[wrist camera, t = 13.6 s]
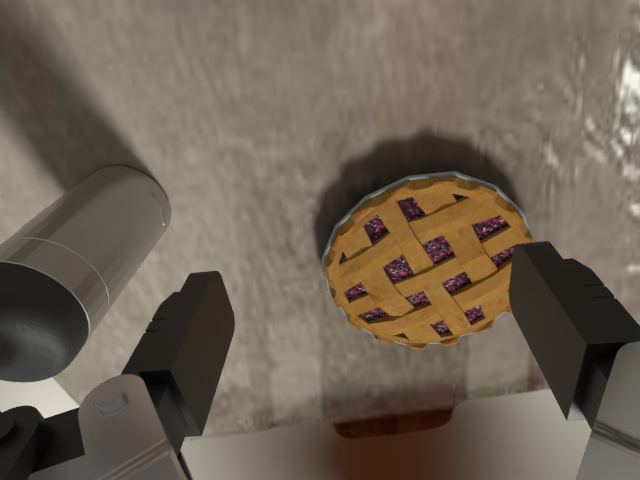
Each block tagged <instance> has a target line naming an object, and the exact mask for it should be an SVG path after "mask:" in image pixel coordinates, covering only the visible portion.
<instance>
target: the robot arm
mask: <svg viewBox="0 0 640 480" xmlns="http://www.w3.org/2000/svg"><path fill="white" fill-rule="evenodd" d="M170 218H171V209H170V205H169V201H168V199H167V197H166V195H165V193H164V192H163V190H162V189H161V188H160V186H159V185H158V184H157V183H156V182H155V181H154V180H153V179H151V178H150V177H148V176H147V175H146V174H144V173H142V172H140V171H138V170H136V169H133V168H129V167H126V166H107V167H104V168H101V169H99V170H97V171H96V172H95V173H93V174H92V175H91V176H89V177H88V178H87V179H85V180H84V181H83V182H81V183H80V184H77V185H76V186H75V187H73V188H72V189H71V190H69V191H68V192H67V193H66V194H64V195H63V196H62V197H60V198H59V199H58V200H56V201H55V202H54V203H53V204H51V205H50V206H49V207H47V208H46V209H45V210H43V211H42V212H41V213H40V214H38V215H37V216H36V217H34V218H33V219H32V220H30V221H29V222H28V223H27V224H25V225H24V226H23V227H22V228H21V229H20V230H19V231H18V232H16V233H15V234H14V235H12V236H11V237H10V238H9V239H7V240H6V241H5V242H3V243H2V244H1V245H0V380H5V381H12V382H34V381H41V380H45V379H48V378H50V377H53V376H55V375H57V374H59V373H60V372H61V371H63V370H64V369H65V368H66V367H68V365H69V364H70V363H71V362H72V361H73V360H74V358H75V357H76V356H77V354H78V353H79V351H80V350H81V349H82V347H83V346H84V344H85V343H86V341H87V340H88V338H89V337H90V336H91V334H92V333H93V331H94V330H95V329H96V327H97V326H98V324H99V323H100V321H101V320H102V319H103V317H104V316H105V314H106V313H107V311H108V310H109V309H110V307H111V306H112V304H113V303H114V302H115V300H116V299H117V297H118V296H119V295H120V293H121V292H122V290H123V289H124V288H125V286H126V285H127V283H128V282H129V281H130V279H131V278H132V277H133V275H134V274H135V272H136V271H137V270H138V268H139V267H140V265H141V264H142V263H143V261H144V260H145V258H146V257H147V256H148V254H149V253H150V251H151V250H152V249H153V247H154V246H155V244H156V243H157V242H158V240H159V239H160V237H161V236H162V235H163V233H164V232H165V230H166V229H167V227H168V225H169V222H170ZM509 302H510V307H511V310H512V313H513V315H514V317H515V319H516V321H517V323H518V325H519V327H520V329H521V331H522V333H523V335H524V337H525V339H526V341H527V343H528V345H529V347H530V349H531V351H532V353H533V355H534V357H535V359H536V361H537V363H538V365H539V367H540V369H541V371H542V373H543V375H544V377H545V379H546V381H547V383H548V384H549V386H550V388H551V390H552V392H553V394H554V396H555V398H556V400H557V402H558V404H559V406H560V408H561V410H562V412H563V414H564V416H565V418H566V420H567V421H582V420H587V422H588V424H589V426H590V428H591V429H592V431H591V435H590V437H589V441H588V444H587V447H586V450H585V453H584V456H583V459H582V462H581V465H580V468H579V472H578V475H577V478H576V480H640V326H639V324H638V323H637V322H636V321H635V320H634V319H633V317H632V316H631V315H630V314H629V313H628V312H627V310H626V309H625V308H624V307H623V306H622V305H621V303H620V302H619V301H618V300H617V299H614V295H613V294H612V293H611V292H610V291H609V289H608V288H607V287H604V284H603V282H602V281H601V280H600V279H599V278H598V277H597V275H596V274H595V273H594V272H593V271H592V270H591V269H590V268H588V267H586V266H584V265H583V264H581V263H579V262H578V261H576V260H574V259H573V258H572V259H563V258H562V257H561V256H560V255H559V253H558V252H557V251H556V249H555V248H554V247H553V246H552V244H551V243H550V242H548V241H544V242H533V243H522V244H516V245H515V247H514V250H513V257H512V266H511V275H510V284H509ZM234 327H235V321H234V313H233V310H232V307H231V304H230V301H229V298H228V295H227V292H226V289H225V286H224V283H223V280H222V277H221V275H220V273H219V272H218V271H210V272H199V273H191V274H190V275H189V276H188V278H187V280H186V281H185V283H184V285H183V287H182V289H181V291H180V292H174V293H173V294H171V295H170V296H169V297H168V298H167V299H166V300H165V301H164V302H163V303H162V304H161V305H160V306H159V308H158V309H157V311H156V313H155V315H154V317H153V318H152V322H150V324H149V325H148V327H147V329H146V333H144V334H143V336H142V338H141V340H140V341H139V343H138V345H137V347H136V348H135V350H134V352H133V354H132V355H131V357H130V359H129V361H128V363H127V364H126V366H125V368H124V370H123V371H122V373H121V375H119V376H116V377H113V378H110V379H108V380H106V381H104V382H103V383H101V384H100V385H98V386H97V387H96V388H94V389H93V390H92V391H91V392H90V393H89V394H88V395H87V396H86V398H85V399H84V400H83V402H82V404H81V406H80V407H79V408H76V409H73V410H70V411H67V412H64V413H61V414H58V415H55V416H52V417H49V418H45V419H44V418H43V416H42V415H41V414H40V412H39V411H38V410H37V409H36V408H35V407H32V406H19V407H16V408H12V409H9V410H7V411H5V412H3V413H2V412H0V480H194V479H193V477H192V475H191V472H190V470H189V467H188V465H187V463H186V460H185V458H184V456H183V454H182V452H181V450H180V449H181V446H182V444H183V441H184V438H185V437H190V436H202V433H203V430H204V427H205V424H206V421H207V417H208V414H209V411H210V408H211V404H212V401H213V398H214V395H215V392H216V388H217V385H218V382H219V379H220V376H221V372H222V369H223V366H224V363H225V360H226V356H227V353H228V350H229V347H230V343H231V340H232V337H233V334H234Z"/></svg>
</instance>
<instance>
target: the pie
mask: <svg viewBox="0 0 640 480" xmlns="http://www.w3.org/2000/svg"><path fill="white" fill-rule="evenodd" d="M533 242H535V241H534V238H533V235H532V232H531V230H530V227H529V224H528V221H527V218H526V216H525V213H524V212H523V211H522V210H521V209H520V208H519V207H518V206H517V205H516V204H515V203H514V202H513V201H512V200H511V199H510V198H509V197H508V196H506V195H505V194H504V193H503V192H502V191H501V190H500V189H499V188H498V187H497V186H496V185H494V184H491V183H488V182H485V181H482V180H479V179H476V178H473V177H471V176H468V175H465V174H462V173H459V172H456V171H450V172H440V173H430V174H421V175H411V176H406V177H404V178H402V179H400V180H398V181H396V182H394V183H392V184H390V185H388V186H385V187H383V188H381V189H379V190H377V191H375V192H373V193H371V194H369V195H366V196H365V197H364V198H363V199H362V200H361V201H360V202H359V203H358V204H357V205H356V206H355V207H354V208H352V209H351V210H350V211H349V212H348V213H347V214H346V215H345V216H344V217H343V218H342V219H341V220H340V221H339V222H338V223H337V224H336V225H335V227H334V229H333V232H332V234H331V236H330V239H329V241H328V244H327V246H326V249H325V251H324V253H323V256H322V264H323V271H324V277H325V283H326V290H327V291H328V293H329V294H330V295H331V297H332V298H333V300H334V302H335V304H336V306H337V307H339V308H340V310H341V311H342V313H343V314H344V316H345V317H346V318H348V320H349V322H350V323H351V324H352V325H354V326H355V327H356V328H358V329H359V330H360V329H361V328H362V329H364V330H365V331H367V332H368V333H369V334H371V335H372V336H374V337H375V338H376V339H377V340H379V341H381V342H383V343H386V344H388V345H389V344H390V343H392V342H396V343H399V344H403V345H407V346H408V347H409V348H412V349H419V350H424V348H425V347H426V346H427V344H438V343H441V344H443V345H444V346H446V347H447V346H450V345H454V344H457V343H458V341H459V339H460V337H462V336H465V335H467V334H470V333H473V332H476V333H481V332H484V331H486V330H488V329H490V328H492V326H493V323H494V320H495V319H497V318H498V317H500V316H501V315H503V314H504V313H506V312H512V310H511V307H510V302H509V284H510V275H511V266H512V257H513V250H514V247H515V245H516V244H522V243H533Z"/></svg>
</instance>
